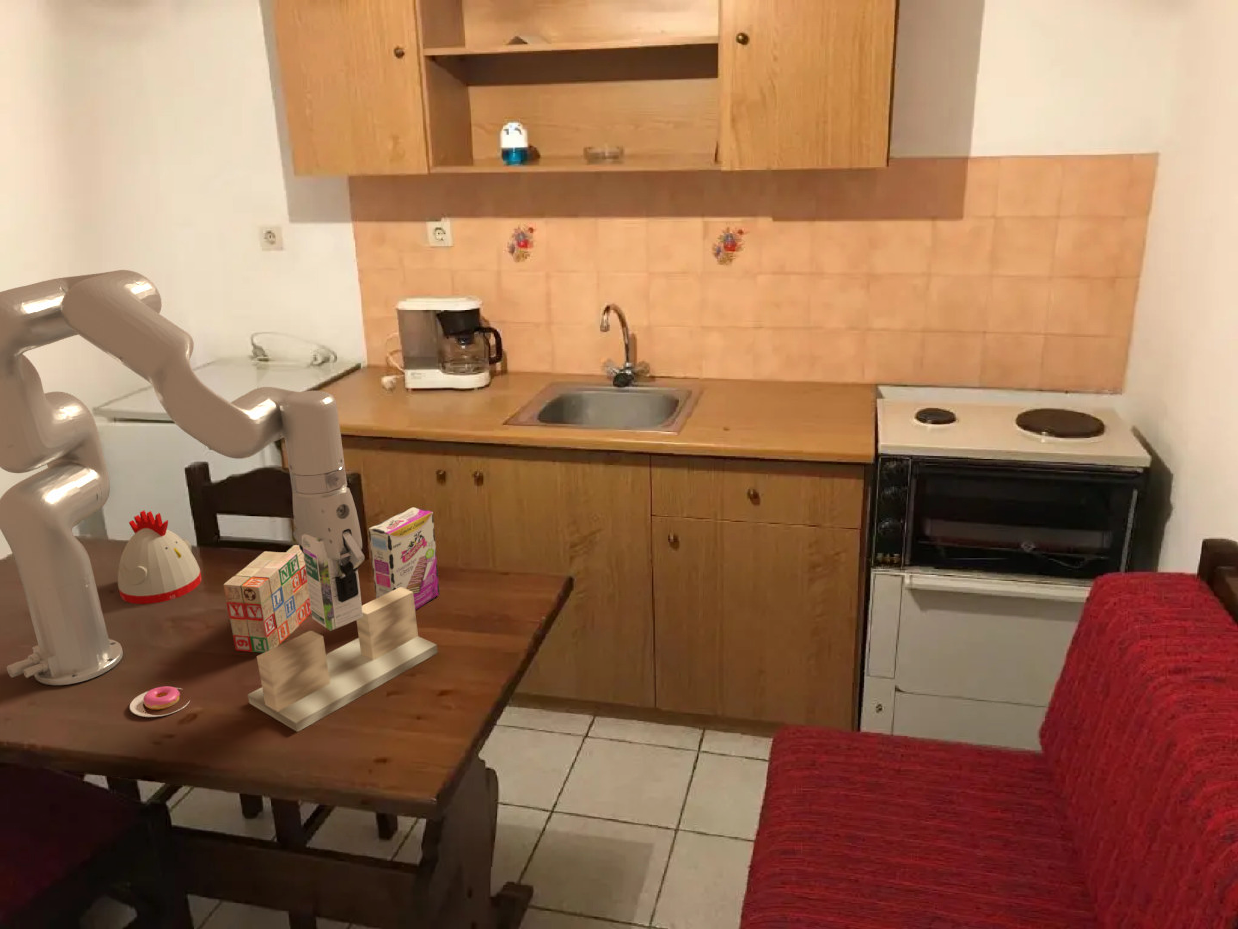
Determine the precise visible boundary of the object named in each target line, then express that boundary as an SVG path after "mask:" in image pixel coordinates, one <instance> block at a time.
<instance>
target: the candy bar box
mask: <svg viewBox="0 0 1238 929" xmlns="http://www.w3.org/2000/svg"><path fill="white" fill-rule="evenodd" d="M434 522H435V521H434V512H433V511H431V510H427V509H422V508H418V507H410V508H409V509H406V510H404V511H402V512H400V513H397V514H396V515H395V516H394V515H393V516H392V517H390V518H388V519H386V520H383V521H382V522H380V523H378V524H376V525H373V526H371V527H369V528H368V536H369V543H370V554H371V562H372V570H373V571H372V572H373V581H374V592H375V599H377V598H379V597H381V596H383V595H385V594H387V593H389V592H391V591H393V590H395V589H397V588H399V587H402V588H405V589H407V590H410V591H412V592H413V596H414V605H415V611H416V610H418V609H419V608H421V607H423V606H424V605H426V604H427V603H430V601H432V600H434V599H436V598H437V597H439V596H440V584H439V573H438V572H439V570H438V560H437V559H438V558H437V551H436V550H437V549H436V535H435V523H434ZM438 595H439V596H438ZM436 596H437V597H436ZM435 597H436V598H435Z"/></svg>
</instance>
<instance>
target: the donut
mask: <svg viewBox="0 0 1238 929" xmlns="http://www.w3.org/2000/svg"><path fill="white" fill-rule="evenodd" d="M179 690H182V688H181V687H173V686H168V685H165V686H158V687H155V688H152V689H149V690H147V691H145V692H143V693H141V694H139V695H137V696H136V697H134V699H133V700H132V701H131V702H130V703H129V710H130V712H131V713H132V714H134V715H136V716H138V717H143V718H144V717H145V718H157V717H159V718H160V717H164V716H169V715H171V714H174V713H176V712H179V711H181V710H183V709H184V708H185V707H187V706H188V704H189V703H190V702H191V700H189V701H188V702H186V704H185V705H184V706H182V707H180V708H178V709H177V710H175V711H172V712H170V713H166V714H156V715H155V714H150V713H148V712H147V711H146V709H145V708H144V706H145V707H146V708H148V709H150V710H158V711H159V710H165V709H168V708H170V707H173V706H174V705H175V704H177V703H178V702H179V700H180V697H181V693H180V691H179ZM143 711H144V712H143ZM145 712H146V713H145Z"/></svg>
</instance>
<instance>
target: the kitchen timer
mask: <svg viewBox="0 0 1238 929" xmlns="http://www.w3.org/2000/svg"><path fill="white" fill-rule="evenodd" d="M133 518H134V519H132V520H130V521H128V523H129V526H130V527H131V529H132V530H133V532H134V534H133V535H132V536H131V537H130V539H129V540H128V541H127V542H126V545H125V547H124V549H123V551H122V553H121V556H120V560H119V563H118V564H119V565H118V572H117V586H118V591H119V595H120V598H121V599H122V600H123V601H124V602H126V603H130V604H138V605H139V604H140V605H147V604H148V605H149V604H158V603H162V602H166V601H167V602H168V601H170V600H175V599H177V598H180V597H183V596H185V595H186V594H188V593H190V592H193V590H195V589H196V588H197V587H198V586H199V585H200V584H201V582H202V572H201V569H200V566H199V564H198V562H197V560H196V558H195V556H194V554H193V553H192V548H193V547H192V545H191V543H190V542H189V541H188V540H187V539H182V538H181V537H180V536H179V535H178V534H176V533H174V532H173V531H171V530H169V529H168V524H169V520H164V522H163V519H162V515H161V513H160V512H159V513H156V514H155V516H154V514H153V512H152V511H148V512H147V513H146V511H145V510H144V509H143V510H142V511H140V512H139V515H138V514H137V515H135V516H134V517H133Z"/></svg>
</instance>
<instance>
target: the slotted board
mask: <svg viewBox="0 0 1238 929" xmlns="http://www.w3.org/2000/svg"><path fill="white" fill-rule="evenodd" d="M361 605H362V604H361ZM362 613H363V617H362V618H360V619H358V620H356V627H357V633H358V638H355V639H353V640H352V641H349V642H347V643H346V644H344V645H341V646H340V647H338V648H335V649H334V650H332V651H330V652H328V653H327V652H326V646H325V641H324V640H325V639H324V635H322V634H320V633H317V632H315V631H313V630H309V631H306V632H304V633H302V634H300V635H298V636H296V637H294V638H292V639H290V640H287V641H286V642H284V643H283V642H282V643H281V644H279V645H278V646H277V647H275V648H273V649H271V650H269V651H267V652H265V653H261V654H259V655H257V656H256V659H257V660H256V661H257V666H258V672H259V678H260V682H261V687H259V688H257V689H256V690H254V691H252V692H250V693H248V694H247V698H248V704H250V705H252V706H253V707H255V708H256V709H258V710H260V711H262V712H263V713H265V714H267V715H269V716H270V717H272V718H274V719H275V720H277V721H278V722H280V723H282V724H283V725H285V726H287V727H288V728H290V729H292V730H293V731H295V732H296V733H298V732H300V731H302V730H303V729H306V728H307V727H309V726H312V725H313V724H314V723H316V722H318V721H320V720H321V719H323V718H325V717H327V716H329V715H330V714H332V713H334V712H336V711H338V710H339V709H341V708H342V707H344V706H346V705H349V704H350V703H351V702H354V701H355V700H357V699H359V698H361V697H362V696H364V695H366V694H368V693H369V692H371V691H372V690H373V691H374V690H375V689H377V688H378V687H380V686H382V685H383V684H385V683H386V682H388V681H390V680H393V679H394V678H396V677H398V676H400V675H401V674H403V673H404V672H407V671H408V670H410V669H412V668H413V667H415V666H418V665H419V664H420V663H422V662H425V661H426V660H427V659H429V658H432V657H433V656H434V655H437V654H438V644H436V643H434V642H432V641H430V640H427V639H425V638H423V637H420V635H419V634H418V633H419V631H418V624H417V618H416V610H415V605H414V596H413V592H412V591H410V590H407V589H405V588H402V587H399V588H397V589H395V590H393V591H391V592H389V593H387V594H385V595H383V596H381V597H379V598H377V599H376V598H375V599H373V600H371V601H369V602H366V603H365V604H363V605H362Z"/></svg>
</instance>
